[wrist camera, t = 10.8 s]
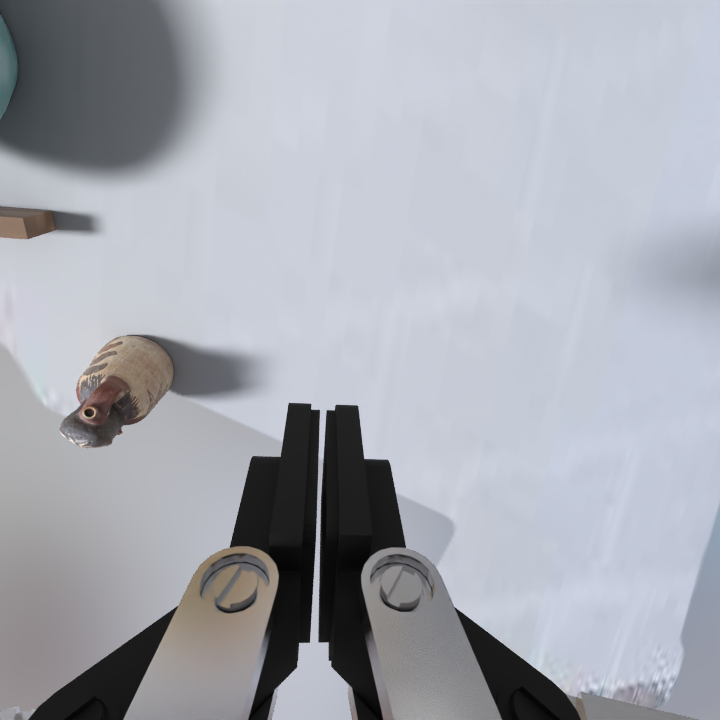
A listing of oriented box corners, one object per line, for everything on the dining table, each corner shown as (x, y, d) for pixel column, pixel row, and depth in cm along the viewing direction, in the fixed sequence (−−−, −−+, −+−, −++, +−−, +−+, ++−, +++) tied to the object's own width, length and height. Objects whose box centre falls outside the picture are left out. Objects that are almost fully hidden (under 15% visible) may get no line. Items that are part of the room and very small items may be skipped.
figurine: (89, 373, 45) (13, 447, 34) (119, 319, 42) (49, 381, 32) (155, 408, 47) (104, 487, 36) (188, 359, 45) (144, 428, 34)
